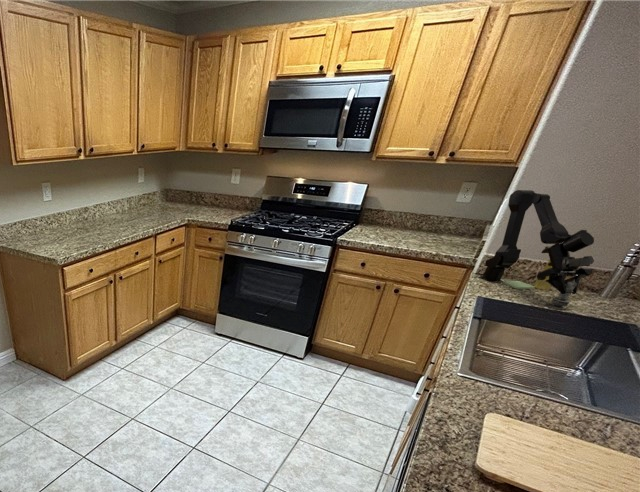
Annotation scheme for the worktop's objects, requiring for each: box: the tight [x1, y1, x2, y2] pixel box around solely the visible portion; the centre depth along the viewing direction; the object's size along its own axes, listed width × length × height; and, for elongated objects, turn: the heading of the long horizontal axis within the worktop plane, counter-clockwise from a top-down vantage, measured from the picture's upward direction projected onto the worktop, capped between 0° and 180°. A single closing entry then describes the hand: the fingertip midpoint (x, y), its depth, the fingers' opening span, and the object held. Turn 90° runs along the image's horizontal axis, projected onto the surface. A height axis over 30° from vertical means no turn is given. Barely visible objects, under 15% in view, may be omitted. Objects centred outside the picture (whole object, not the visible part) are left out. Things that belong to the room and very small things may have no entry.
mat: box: [501, 280, 536, 290], centre depth 192 cm, size 8×9×1 cm
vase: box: [532, 259, 552, 291], centre depth 187 cm, size 6×6×14 cm
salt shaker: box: [547, 279, 576, 311], centre depth 167 cm, size 6×6×12 cm
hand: (569, 293), depth 166 cm, fingers open, 4 cm apart
